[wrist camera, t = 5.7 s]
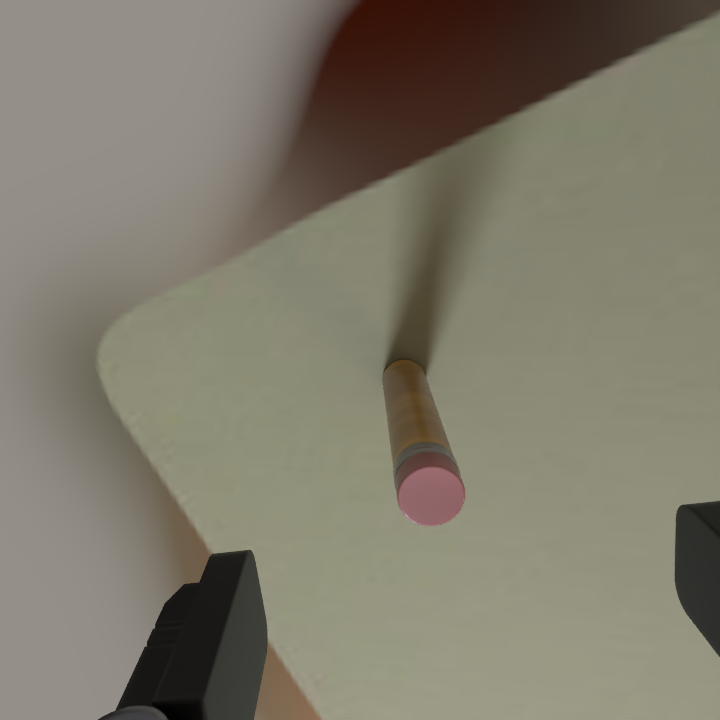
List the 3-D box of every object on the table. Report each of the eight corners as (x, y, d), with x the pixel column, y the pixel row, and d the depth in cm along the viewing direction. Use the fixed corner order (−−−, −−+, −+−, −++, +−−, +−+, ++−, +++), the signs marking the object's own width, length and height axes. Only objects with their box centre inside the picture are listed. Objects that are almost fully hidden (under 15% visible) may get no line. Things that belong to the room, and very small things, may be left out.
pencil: (377, 364, 23) (388, 474, 14) (420, 353, 23) (458, 457, 14) (387, 404, 23) (406, 534, 15) (430, 394, 23) (472, 519, 15)
